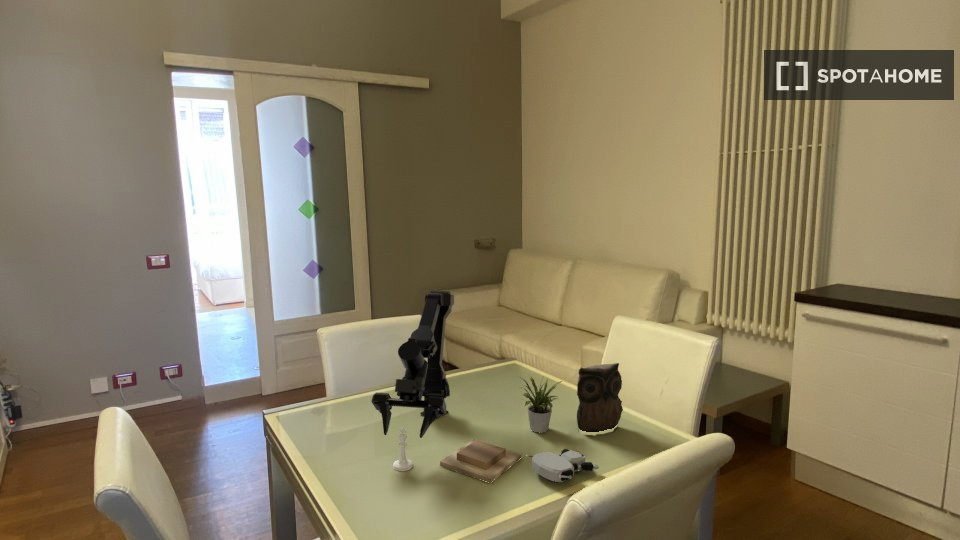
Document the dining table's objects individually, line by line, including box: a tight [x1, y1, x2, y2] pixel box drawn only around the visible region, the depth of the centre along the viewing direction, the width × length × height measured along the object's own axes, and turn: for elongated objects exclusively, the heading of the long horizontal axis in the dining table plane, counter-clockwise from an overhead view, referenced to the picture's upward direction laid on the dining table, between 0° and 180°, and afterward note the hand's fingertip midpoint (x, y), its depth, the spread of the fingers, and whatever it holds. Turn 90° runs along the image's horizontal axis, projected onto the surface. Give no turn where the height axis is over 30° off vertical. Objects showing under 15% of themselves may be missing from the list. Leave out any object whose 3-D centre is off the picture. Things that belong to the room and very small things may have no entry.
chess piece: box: [392, 427, 414, 472], centre depth 130 cm, size 5×5×10 cm
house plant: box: [516, 375, 563, 434], centre depth 152 cm, size 14×14×16 cm
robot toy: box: [525, 448, 599, 483], centre depth 128 cm, size 12×4×15 cm
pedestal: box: [439, 438, 523, 484], centre depth 133 cm, size 15×15×3 cm
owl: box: [576, 362, 624, 432], centre depth 151 cm, size 13×13×20 cm
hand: (402, 436), depth 130 cm, fingers open, 9 cm apart
